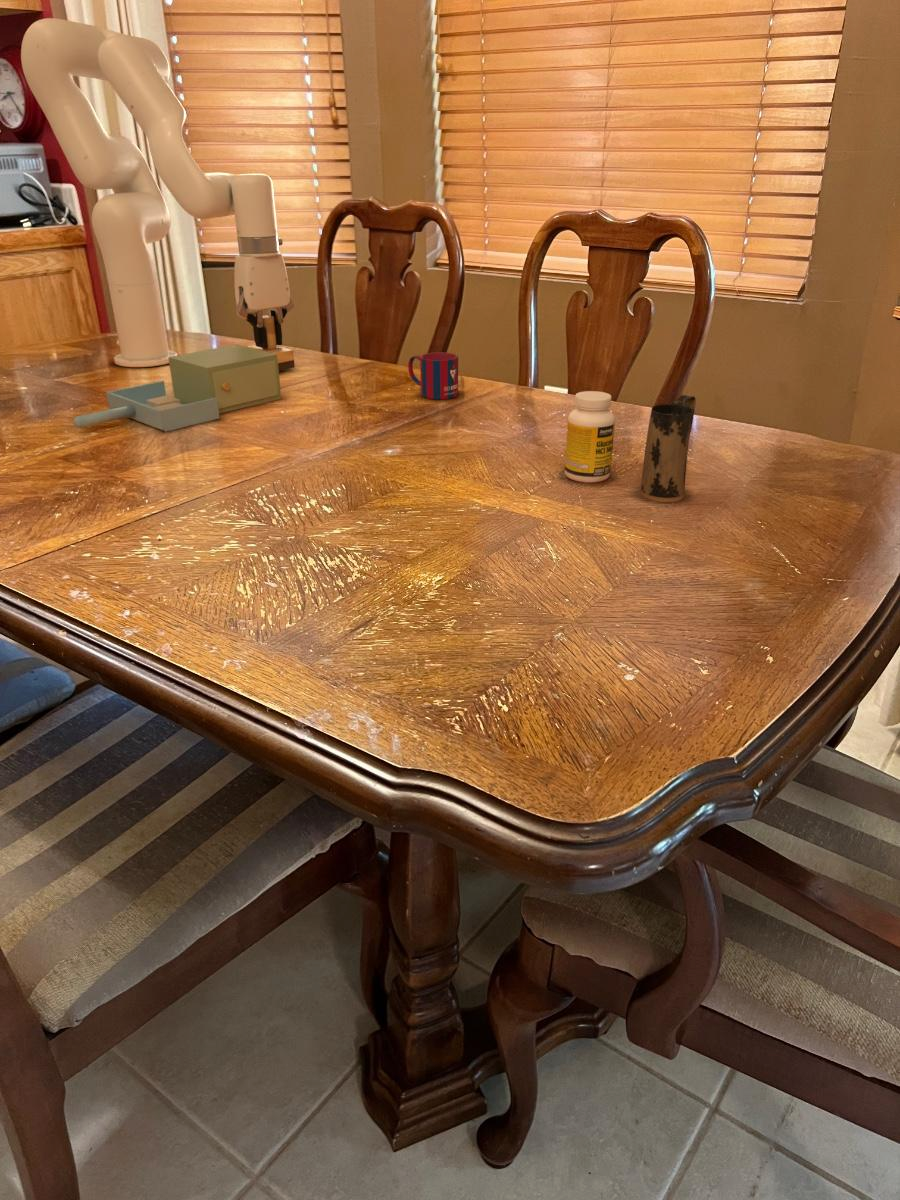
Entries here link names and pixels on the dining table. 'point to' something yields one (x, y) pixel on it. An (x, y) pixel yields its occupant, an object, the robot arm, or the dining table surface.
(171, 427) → the dustpan
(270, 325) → the tan two-tone stamp part
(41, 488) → the dining table surface
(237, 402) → the cabinet
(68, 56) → the robot arm
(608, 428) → the pill bottle
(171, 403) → the felt
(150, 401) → the felt
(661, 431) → the mug
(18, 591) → the dining table surface
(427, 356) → the cup
